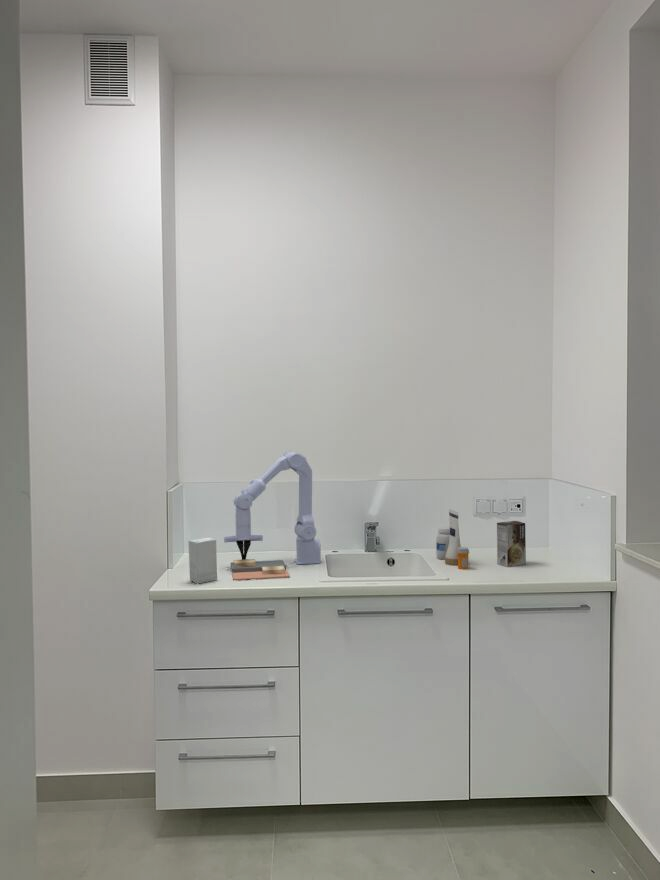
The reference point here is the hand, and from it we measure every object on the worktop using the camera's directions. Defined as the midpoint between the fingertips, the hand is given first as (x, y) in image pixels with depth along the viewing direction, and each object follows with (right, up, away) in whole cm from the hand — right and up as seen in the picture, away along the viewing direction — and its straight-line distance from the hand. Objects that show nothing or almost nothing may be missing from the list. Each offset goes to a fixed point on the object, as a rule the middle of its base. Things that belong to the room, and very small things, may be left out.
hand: (243, 560), depth 268 cm
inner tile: (+12, -3, -11) cm, 17 cm away
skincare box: (-12, -4, -21) cm, 24 cm away
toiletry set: (+81, -2, +4) cm, 81 cm away
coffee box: (+102, -2, 0) cm, 102 cm away
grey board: (+6, -3, -4) cm, 7 cm away
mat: (+8, -3, -14) cm, 17 cm away
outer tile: (+1, -1, -5) cm, 5 cm away
